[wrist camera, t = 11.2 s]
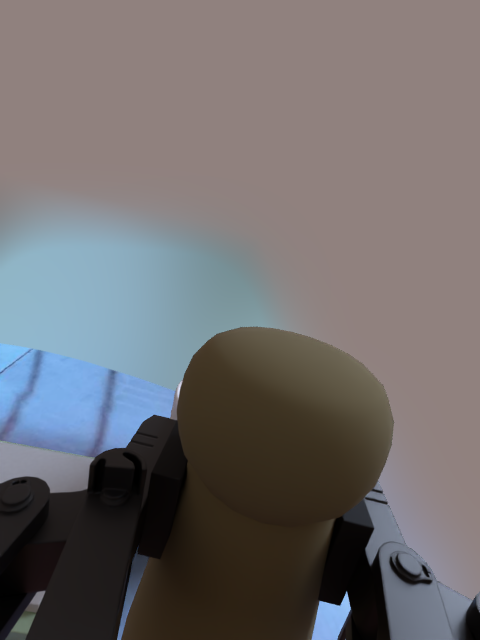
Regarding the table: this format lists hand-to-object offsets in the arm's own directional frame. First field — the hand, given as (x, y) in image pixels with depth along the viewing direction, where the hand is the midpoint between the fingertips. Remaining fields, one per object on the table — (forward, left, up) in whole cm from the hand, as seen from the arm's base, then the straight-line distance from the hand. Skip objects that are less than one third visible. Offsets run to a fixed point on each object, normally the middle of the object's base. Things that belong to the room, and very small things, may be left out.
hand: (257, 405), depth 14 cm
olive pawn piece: (0, +5, -6) cm, 8 cm away
